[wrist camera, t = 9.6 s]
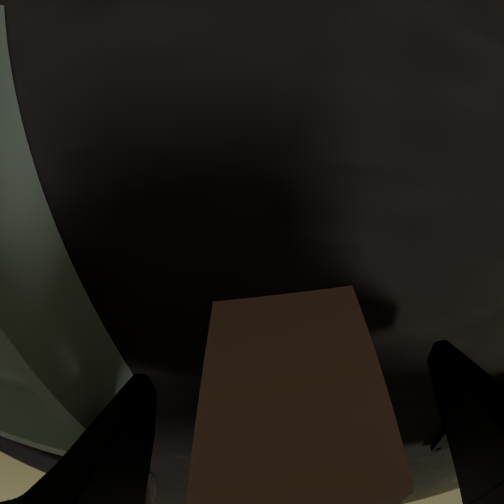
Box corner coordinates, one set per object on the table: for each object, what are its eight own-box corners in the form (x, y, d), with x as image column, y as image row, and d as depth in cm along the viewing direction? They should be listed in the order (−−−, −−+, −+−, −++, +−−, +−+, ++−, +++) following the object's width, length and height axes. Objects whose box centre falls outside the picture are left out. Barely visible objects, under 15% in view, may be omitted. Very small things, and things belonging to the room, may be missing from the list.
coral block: (345, 369, 11) (374, 523, 6) (237, 381, 11) (230, 537, 6) (352, 285, 9) (413, 490, 4) (213, 301, 9) (184, 512, 4)
